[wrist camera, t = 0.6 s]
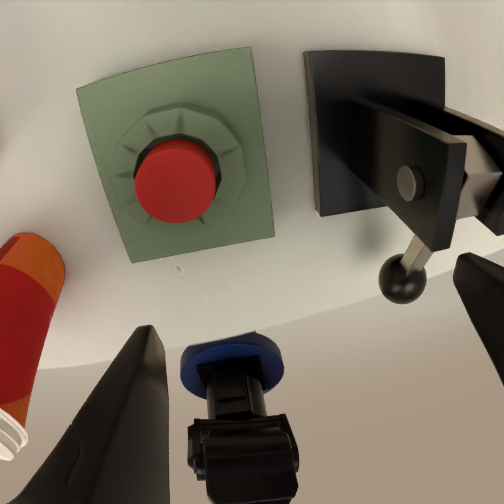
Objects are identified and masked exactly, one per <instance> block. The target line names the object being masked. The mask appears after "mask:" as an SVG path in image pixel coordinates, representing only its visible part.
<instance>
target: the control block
mask: <svg viewBox="0 0 504 504" xmlns="http://www.w3.org/2000/svg"><path fill="white" fill-rule="evenodd" d="M76 93H77V97H78V101H79V105H80V109H81V113H82V117H83V121H84V124H85V128H86V132H87V135H88V139H89V142H90V146H91V149H92V153H93V156H94V159H95V162H96V166H97V169H98V172H99V175H100V178H101V181H102V184H103V187H104V190H105V193H106V196H107V199H108V202H109V205H110V208H111V210H112V213H113V216H114V219H115V221H116V224H117V227H118V230H119V232H120V235H121V237H122V240H123V243H124V245H125V248H126V250H127V253H128V255H129V258H130V260H131V263H136V262H141V261H147V260H152V259H157V258H162V257H168V256H173V255H178V254H184V253H189V252H194V251H200V250H205V249H210V248H216V247H221V246H227V245H232V244H238V243H243V242H248V241H254V240H259V239H265V238H271V237H275V232H274V223H273V214H272V205H271V197H270V188H269V180H268V171H267V163H266V155H265V147H264V139H263V131H262V124H261V116H260V109H259V101H258V94H257V87H256V79H255V72H254V65H253V58H252V51H251V47H244V48H236V49H229V50H223V51H217V52H211V53H205V54H200V55H194V56H189V57H184V58H180V59H175V60H171V61H166V62H162V63H158V64H154V65H150V66H146V67H143V68H139V69H135V70H132V71H128V72H125V73H122V74H118V75H115V76H112V77H109V78H106V79H103V80H100V81H97V82H94V83H91V84H88V85H85V86H83V87H80V88H77V89H76ZM170 139H185V140H189V141H192V142H194V143H196V144H198V145H200V146H201V147H202V148H203V149H204V150H206V152H207V153H208V154H209V156H210V157H211V159H212V162H213V165H214V169H215V181H216V190H215V195H214V198H213V200H212V203H211V204H210V206H209V207H208V208H207V210H206V211H205V212H204V213H203V214H201V215H200V216H199V217H197V218H195V219H193V220H191V221H188V222H184V223H167V222H163V221H160V220H158V219H155V218H154V217H152V216H151V215H149V214H148V213H147V212H146V211H145V210H144V209H143V208H142V206H141V205H140V203H139V201H138V199H137V196H136V193H135V178H136V174H137V171H138V169H139V167H140V166H141V164H142V162H143V160H144V158H145V157H146V155H147V154H148V152H149V151H150V150H151V149H152V148H153V147H155V146H156V145H158V144H159V143H161V142H163V141H166V140H170Z"/></svg>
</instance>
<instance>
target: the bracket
mask: <svg viewBox="0 0 504 504" xmlns="http://www.w3.org/2000/svg"><path fill="white" fill-rule="evenodd" d="M303 54H304V63H305V72H306V82H307V92H308V103H309V115H310V127H311V140H312V155H313V172H314V191H315V209H316V210H317V212H318V214H319V215H320V217H324V216H330V215H336V214H342V213H348V212H354V211H360V210H366V209H373V208H379V207H385V206H388V207H389V208H390V209H391V210H392V211H393V212H394V213H395V214H396V215H397V216H398V217H399V218H400V219H401V220H402V221H403V222H404V223H405V224H406V225H407V226H408V227H409V228H410V229H411V230H412V232H413V233H414V234H415V235H416V236H417V237H418V238H419V239H420V240H421V241H422V242H423V243H424V244H425V246H426V247H427V248H428V249H429V250H430V251H431V252H436V251H440V250H444V249H448V248H450V245H451V241H452V236H453V232H454V227H455V222H456V217H457V212H458V207H459V201H460V195H461V189H462V183H463V176H464V169H465V161H466V152H467V143H466V142H464V141H462V140H460V139H458V138H456V137H454V136H452V135H472V136H474V137H475V139H476V140H477V141H478V142H479V143H480V145H481V146H482V147H483V148H484V149H485V151H486V152H487V153H488V154H489V156H490V157H491V158H492V159H493V161H494V162H495V163H496V165H497V166H498V167H499V169H500V170H501V171H502V175H501V177H500V179H499V181H498V182H497V184H496V186H495V187H494V189H493V191H492V193H491V194H490V196H489V198H488V199H487V201H486V203H485V204H484V206H483V207H482V209H481V211H480V212H479V214H478V215H476V216H475V217H476V218H477V219H478V220H479V221H480V222H482V223H483V224H484V225H485V226H486V227H487V228H488V229H490V230H491V231H492V232H493V233H494V234H495V235H496V236H500V235H503V234H504V131H502V130H500V129H498V128H496V127H494V126H492V125H489V124H487V123H485V122H482V121H480V120H478V119H475V118H473V117H471V116H468V115H466V114H463V113H461V112H458V111H455V110H453V109H450V108H448V107H445V58H444V57H439V56H431V55H423V54H413V53H402V52H388V51H365V50H323V51H304V52H303Z"/></svg>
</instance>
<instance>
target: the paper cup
mask: <svg viewBox="0 0 504 504" xmlns="http://www.w3.org/2000/svg"><path fill="white" fill-rule="evenodd" d="M64 278H65V267H64V263H63V261H62V258H61V256H60V255H59V253H58V252H57V250H56V249H55V248H54V247H53V246H52V245H51V244H50V243H49V242H48V241H46V240H45V239H43V238H42V237H40V236H38V235H35V234H31V233H19V234H16V235H14V236H13V237H11V238H10V239H9V240H8V241H7V242H6V243H5V244H4V245H3V246H2V247H1V248H0V459H2V460H12V459H13V458H14V456H15V454H16V453H17V452H19V450H20V448H21V447H23V446H25V445H26V444H27V442H28V437H27V431H26V430H25V429H24V428H25V422H26V417H27V411H28V406H29V402H30V397H31V392H32V388H33V384H34V379H35V375H36V371H37V368H38V364H39V360H40V356H41V353H42V349H43V346H44V342H45V339H46V335H47V332H48V329H49V326H50V322H51V319H52V316H53V313H54V310H55V307H56V304H57V301H58V298H59V295H60V292H61V289H62V286H63V283H64Z"/></svg>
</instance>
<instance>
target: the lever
mask: <svg viewBox="0 0 504 504" xmlns="http://www.w3.org/2000/svg"><path fill="white" fill-rule="evenodd" d="M452 136H454V137H456V138H458V139H460V140H462V141H464V142H466V143H467V152H466V161H465V169H464V176H463V183H462V189H461V195H460V201H459V207H458V212H457V217H456V219H461V218H466V217H471V216H476V215H478V214H479V212H480V211H481V209H482V207H483V206H484V204H485V203H486V201H487V199H488V198H489V196H490V194H491V193H492V191H493V189H494V187H495V186H496V184H497V182H498V181H499V179H500V177H501V175H502V171H501V170H500V169H499V167H498V166H497V165H496V163H495V162H494V161H493V159H492V158H491V157H490V156H489V154H488V153H487V152H486V151H485V149H484V148H483V147H482V146H481V145H480V143H479V142H478V141H477V140H476V139H475V137H474V136H472V135H452ZM432 254H433V252H431V251H430V250H429V249H428V248H427V247H426V246H425V244H424V243H423V242H422V241H421V240H420V239H419V238H418V237H417V236H416V235H414V237H413V239H412V241H411V243H410V245H409V247H408V249H407V250H406V252H405V254H397V255H394V256H392V257H390V258H389V259H387V260H386V261H385V263H384V264H383V265H382V267H381V269H380V272H379V286H380V289H381V291H382V293H383V295H384V296H385V297H386V298H387V299H388V300H390V301H391V302H394V303H397V304H407V303H411V302H413V301H414V300H416V299H417V298H418V297H419V296H420V295H421V294H422V292H423V291H424V289H425V286H426V279H427V278H426V271H425V268H424V266H425V264H426V263H427V261H428V260H429V258H430V257H431V255H432Z"/></svg>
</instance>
